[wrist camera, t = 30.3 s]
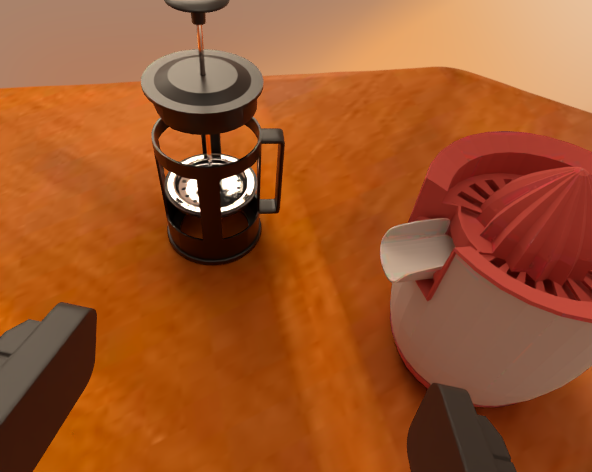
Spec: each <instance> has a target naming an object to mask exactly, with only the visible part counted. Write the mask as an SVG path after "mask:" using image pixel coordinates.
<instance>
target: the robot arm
mask: <svg viewBox="0 0 592 472" xmlns="http://www.w3.org/2000/svg"><path fill="white" fill-rule="evenodd" d="M96 322H97V314H96V310H95V309H92V308H87V307H82V306H78V305H73V304H68V303H63V302H61V303H58V304H57V305H56V306H55V307H54V308H53V309H52V310H51V311H50V313H49V314H48V315H47V316H46V317H45V318H44V319H43V320H42V321H41V322H40V321H35V320H30V319H29V320H27V321H25V322H23V323H21V324H19V325H18V326H16V327H14V328H12V329H10V330H8V331H6V332H5V333H4V334H3V335H2V336H1V337H0V472H33V470H34V469H35V467H36V466H37V464H38V462H39V461H40V459H41V458H42V456H43V454H44V453H45V451H46V450H47V448H48V446H49V445H50V443H51V442H52V440H53V438H54V437H55V435H56V434H57V432H58V430H59V429H60V427H61V426H62V424H63V423H64V421H65V419H66V418H67V416H68V415H69V413H70V411H71V410H72V408H73V407H74V405H75V403H76V402H77V400H78V399H79V397H80V395H81V394H82V392H83V391H84V389H85V387H86V386H87V384H88V382H89V379H90V377H91V374H92V371H93V368H94V363H95V348H96ZM407 453H408V459H409V464H410V469H411V472H517V471H516V469H515V467H514V464H513V463H512V462H511V457H510V455H509V452H508V450H507V448H506V445H505V443H504V441H503V438H502V436H501V435H500V434H499V433H498V431H497V430H496V429H495V428H494V426H493V425H492V424H491V423H490V421H489V420H488V419H487V418H486V416H482V415H477V413H476V410H475V408H474V405H473V403H472V400H471V397H470V395H469V393H468V391H467V390H465V389H463V388H458V387H453V386H448V385H444V384H439V383H432V384H431V385H430V386H429V388H428V390H427V392H426V394H425V396H424V398H423V400H422V402H421V404H420V407H419V409H418V411H417V413H416V415H415V417H414V419H413V421H412V423H411V425H410V428H409V432H408V437H407Z"/></svg>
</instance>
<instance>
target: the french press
mask: <svg viewBox="0 0 592 472" xmlns="http://www.w3.org/2000/svg"><path fill="white" fill-rule="evenodd" d="M164 1H165V2H166V4H167V5H168V6H170V7H172V8H174V9H176V10H180V11H183V12H190V13H191V18H192V23H193V24H196V27H197V39H198V49H193V50H186V51H180V52H176V53H172V54H169V55H166V56H163V57H161V58H159V59H157V60H155V61H154V62H153V63H151V64H150V65H149V66H148V67H147V68H146V69H145V71H144V72H143V75H142V77H141V86H142V90H143V92H144V95H145V96H146V97H147V98H148V100H149V101H151V102H152V103H153V104H154V106H155V108H156V111H157V113H158V114H159V116H160V118H159V119H158V120H157V122H156V123H155V125H154V127H153V130H152V143H153V148H154V154H155V159H156V164H157V169H158V174H159V179H160V185H161V190H162V195H163V200H164V205H165V210H166V216H167V221H168V227H167V228H168V237H169V240H170V243H171V245H172V246H173V248H174V249H175V250H176V251H177V252H178V253H179V254H180V255H181V256H183V257H184V258H186V259H188V260H190V261H193V262H195V263H200V264H205V265H219V264H226V263H230V262H233V261H236V260H238V259H240V258H242V257H243V256H245V255H246V254H248V253H249V252H250V251H251V250H252V249H253V248H254V247H255V245H256V244H257V242H258V240H259V238H260V235H261V221H260V218H259V214H273V213H278V212H279V210H280V199H281V186H282V173H283V160H284V147H285V142H284V136H283V131H282V130H281V129H261V127H260V125H259V123H258V122H257V120H256V119H255V118H254V117H253V116H254V114H255V112H256V109H257V98H258V97H259V96H260V94H261V92H262V90H263V77H262V74H261V72H260V71H259V69H258V68H257V67H256V66H255V65H254V64H253V63H252V62H250V61H248V60H246V59H245V58H242V57H240V56H238V55H236V54H232V53H228V52H224V51H218V50H208V49H204V48H203V36H202V25H203V24H205V13H207V12H213V11H217V10H220V9H222V8H224V7H225V6H226V5H227V4H228V3H229V0H164ZM244 124H245V125H246V126H247V127H249V128H250V129H251V130H252V131H253V132H254V133H255V135H256V137H257V138H258V143H257V145H256V146H255V148H254V149H253V150H252V151H251V152H250V153H249V154H247V155H246V156H245V157H243V158H241V159H238V158H236V157H233V156H230V155H225V154H221V144H220V133H225V132H228V131H231V130H234V129H237V128H239V127H241V126H243V125H244ZM168 127H171V128H172V129H174V130H177V131H180V132H184V133H189V134H197V135H201V137H202V148H203V154H200V155H195V156H192V157H189V158H186V159H184V160H182V161H181V162H178V161H175V160H173V159H171V158H169V157H167V156H166V155H165V154H164V153H163V152H161V151H160V146H159V141H158V139H159V137H160V135H161V134H162V133H163V132H164V131H165V130H166V129H167V128H168ZM261 144H278V158H277V173H276V189H275V199H260V177H261ZM256 160H257V177H256V175H255V173H254V171H253V170H252V169H251V166H252V165H253V164H254V163H255V162H256ZM163 167H164V168H166V169H167V170H168V171H169V173H168V174H167V176H166V179H165V174H164V168H163ZM256 190H257V195H256V193H255V192H256ZM239 211H241V212H242V213H243V214H244V215H245V216H246V218H247V220H248V224H249V226H248V227H247V228H246V229H245V230H243V231H242V232H240V233H238V234H236V235H234V236H231V237H228V238H224V239H223V234H222V218H224V217H227V216H230V215H232V214H235V213H237V212H239ZM187 214H188V215H190V216H193V217H197V218H201V225H202V234H203V239H199V238H194V237H192V236H189V235H186V234H185V233H183V232H181V223H182V221H183V219H184V217H185V216H186V215H187Z"/></svg>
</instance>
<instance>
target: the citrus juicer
mask: <svg viewBox="0 0 592 472" xmlns="http://www.w3.org/2000/svg"><path fill="white" fill-rule="evenodd" d="M380 258H381V264H382V267H383V270H384V272H385V275H386V276H387V278H388V280H389V281H390V282H392V290H391V301H390V308H391V312H390V321H391V329H392V334H393V338H394V340H395V343H396V346H397V349H398V352H399V355H400V356H401V358H402V360H403V362H404V363H405V365H406V367H407V368H408V369H409V371H410V372H411V373H412V374H413V375H414V377H415V378H416V379H417V380H418V381H419V382H421V383H422V384H423V385H424V386H425V387H426V388H427V389H428V388H429V386H430V385H431V384H432V383H439V384H444V385H448V386H453V387H458V388H463V389H465V390H467V391H468V393H469V395H470V397H471V400H472V403H473V405H474V407H503V406H509V405H513V404H516V403H518V402H522V401H528V400H531V399H533V398H536V397H539V396H541V395H544V394H546V393H549V392H551V391H553V390H555V389H558V388H560V387H562V386H564V385H565V384H567V383H568V382H570V381H572V380H573V379H575V378H576V377H578V376H579V375H581V374H582V373H583V372H584V371H586V370H587V369H588V368H590V367H591V366H592V152H591V151H588V150H586V149H583V148H581V147H578V146H576V145H573V144H571V143H568V142H564V141H561V140H557V139H554V138H551V137H547V136H541V135H536V134H531V133H524V132H510V131H499V132H485V133H480V134H475V135H470V136H467V137H465V138H462V139H460V140H457V141H455V142H453V143H452V144H450V145H449V146H447V147H446V148H444V149H443V150H442V151H441V152H439V154H438V155H437V156H436V157H435V159H434V160H433V161H432V162H431V164H430V166H429V169H428V172H427V174H426V177H425V180H424V182H423V185H422V188H421V190H420V193H419V195H418V198H417V201H416V203H415V206H414V209H413V211H412V214H411V216H410V219H409V221H408V223H406V224H401V225H398V226H395V227H392V228H391V229H389V230H388V231H387V232H386V234H385V235H384V237H383V239H382V242H381V246H380Z"/></svg>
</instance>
